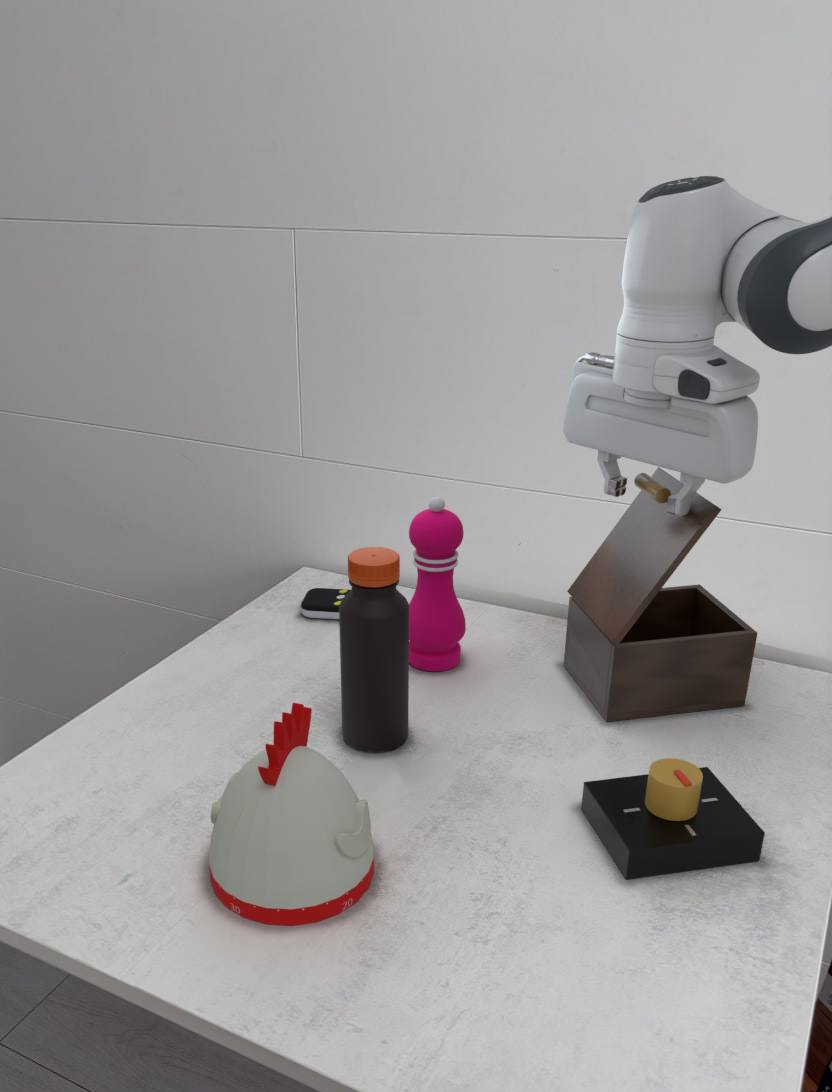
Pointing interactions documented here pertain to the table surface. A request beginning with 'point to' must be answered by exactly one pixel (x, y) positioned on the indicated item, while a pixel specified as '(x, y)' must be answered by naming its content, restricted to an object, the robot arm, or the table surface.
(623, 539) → the chest lid
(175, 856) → the table surface
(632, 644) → the chest
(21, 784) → the table surface
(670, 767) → the lock dial
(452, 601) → the pepper mill
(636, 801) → the rotary knob base
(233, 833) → the kitchen timer
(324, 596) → the remote control
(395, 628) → the bottle
